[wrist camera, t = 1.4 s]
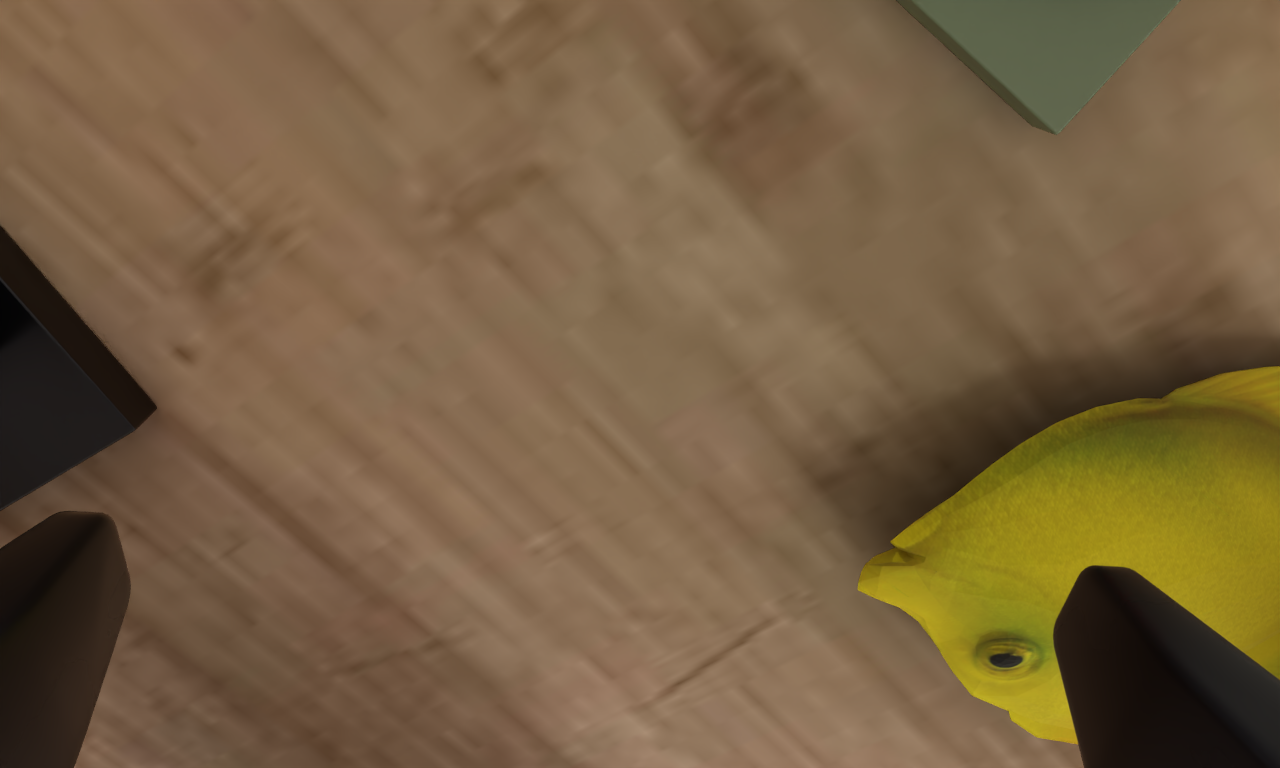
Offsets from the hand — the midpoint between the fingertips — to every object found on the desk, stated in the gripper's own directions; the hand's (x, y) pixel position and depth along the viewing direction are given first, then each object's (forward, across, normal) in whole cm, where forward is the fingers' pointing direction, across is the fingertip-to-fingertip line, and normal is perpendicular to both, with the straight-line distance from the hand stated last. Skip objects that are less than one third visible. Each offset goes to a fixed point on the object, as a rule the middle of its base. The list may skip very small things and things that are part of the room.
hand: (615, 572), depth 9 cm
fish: (+11, -13, +4) cm, 18 cm away
